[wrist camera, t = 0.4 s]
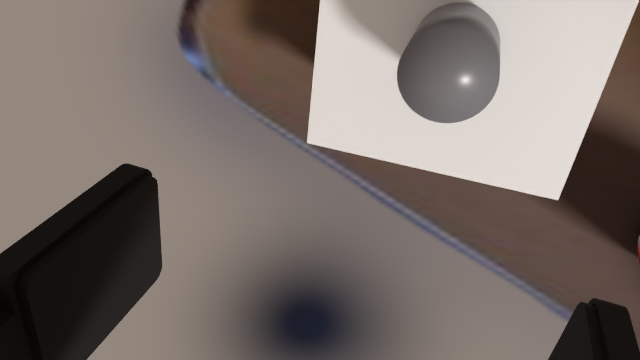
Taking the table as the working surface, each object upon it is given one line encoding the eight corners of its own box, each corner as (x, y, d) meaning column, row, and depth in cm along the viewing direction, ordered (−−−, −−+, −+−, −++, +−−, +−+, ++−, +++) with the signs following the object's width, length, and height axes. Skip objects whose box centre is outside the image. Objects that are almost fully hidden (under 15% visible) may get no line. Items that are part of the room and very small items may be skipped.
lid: (672, -101, 22) (721, -95, 17) (556, 191, 30) (567, 253, 25) (338, -138, 25) (297, -142, 20) (311, 136, 33) (278, 181, 28)
